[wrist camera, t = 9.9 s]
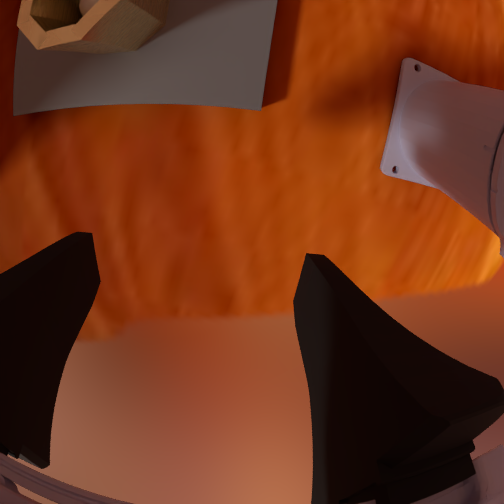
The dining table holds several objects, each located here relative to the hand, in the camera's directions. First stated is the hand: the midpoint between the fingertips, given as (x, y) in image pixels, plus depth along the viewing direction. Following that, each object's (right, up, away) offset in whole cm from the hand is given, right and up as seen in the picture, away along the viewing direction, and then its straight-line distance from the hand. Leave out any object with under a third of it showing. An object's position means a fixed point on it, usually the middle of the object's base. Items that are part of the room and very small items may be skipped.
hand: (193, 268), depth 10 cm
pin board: (-5, +14, +2) cm, 15 cm away
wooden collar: (-5, +13, +1) cm, 14 cm away
